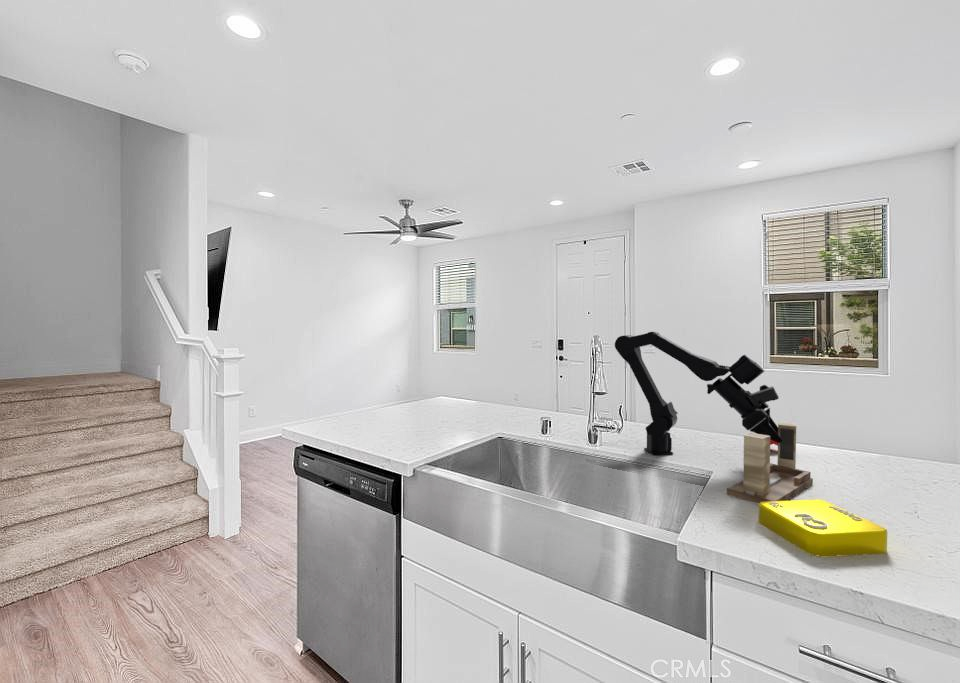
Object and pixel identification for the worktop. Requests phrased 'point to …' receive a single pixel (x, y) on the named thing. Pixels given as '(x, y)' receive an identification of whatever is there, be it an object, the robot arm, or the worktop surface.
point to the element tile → (822, 528)
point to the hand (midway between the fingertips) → (780, 438)
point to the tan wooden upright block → (787, 444)
